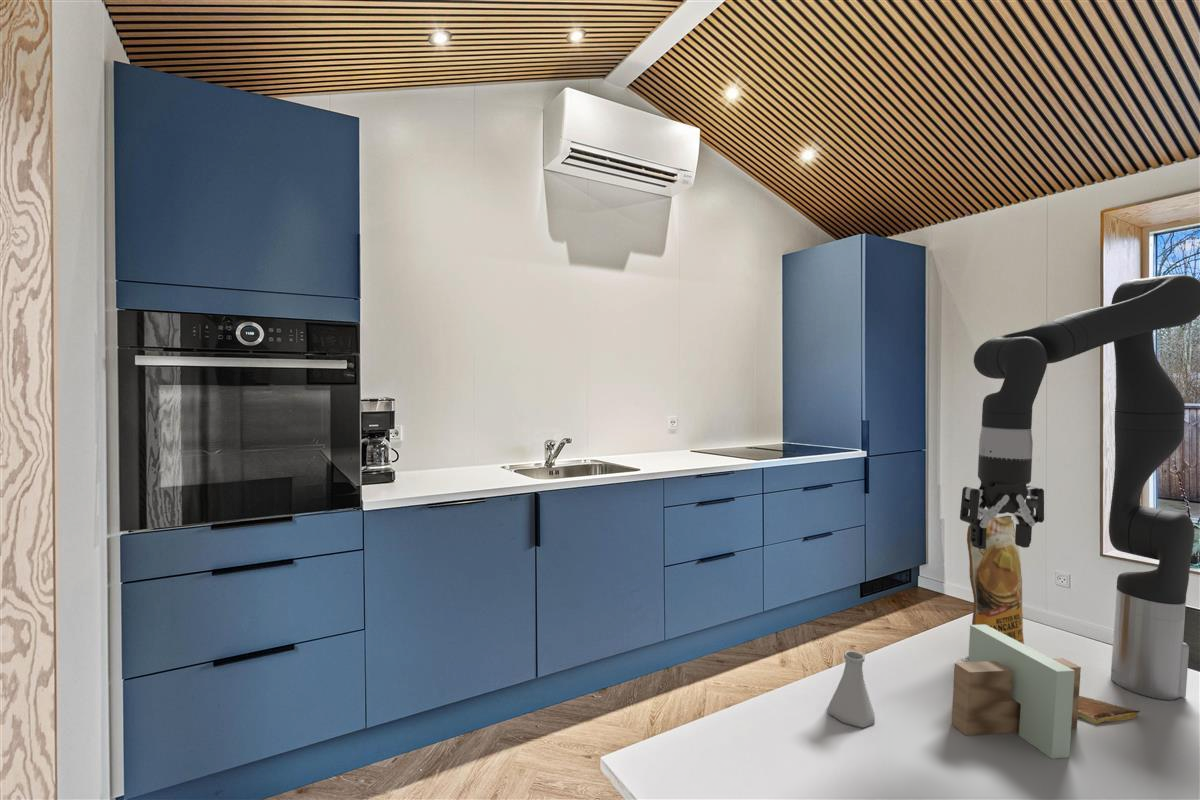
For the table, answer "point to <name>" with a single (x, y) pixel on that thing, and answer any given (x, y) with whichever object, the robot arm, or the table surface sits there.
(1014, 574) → the pancake mix bag
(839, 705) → the flask
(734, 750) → the table surface
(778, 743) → the table surface
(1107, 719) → the shard
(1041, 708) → the sage board
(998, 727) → the walnut board
